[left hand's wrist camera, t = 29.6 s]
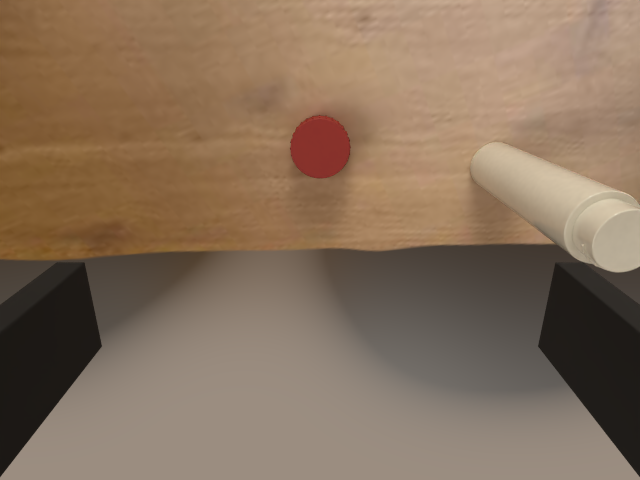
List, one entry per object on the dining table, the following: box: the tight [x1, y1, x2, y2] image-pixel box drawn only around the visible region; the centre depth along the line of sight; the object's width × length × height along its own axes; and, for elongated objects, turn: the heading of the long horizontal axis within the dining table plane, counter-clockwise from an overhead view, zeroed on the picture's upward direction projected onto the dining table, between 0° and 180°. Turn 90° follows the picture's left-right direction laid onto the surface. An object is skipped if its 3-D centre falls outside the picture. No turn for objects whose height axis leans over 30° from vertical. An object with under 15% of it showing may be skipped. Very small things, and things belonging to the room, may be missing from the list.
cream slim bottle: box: [470, 142, 640, 272], centre depth 32 cm, size 4×4×19 cm
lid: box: [290, 115, 351, 178], centre depth 39 cm, size 5×5×2 cm
